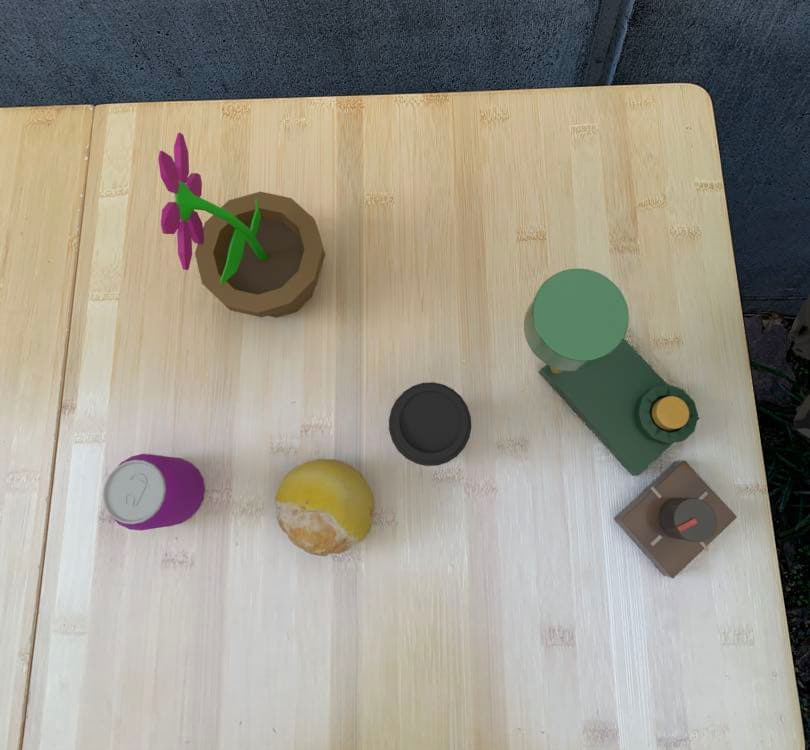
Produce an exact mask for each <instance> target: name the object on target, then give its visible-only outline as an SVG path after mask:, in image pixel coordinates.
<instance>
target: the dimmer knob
mask: <svg viewBox="0 0 810 750" xmlns="http://www.w3.org/2000/svg"><path fill="white" fill-rule="evenodd" d="M659 518H660V523H661V526H662V528H663V529H664V531H665V532H666V533H667V534H668V535H670V536H671V537H673V538H676V539H680V540H686V541H691V542H703V541H706V540H708V539H709V538H710V537H711V536H712V535H713V534H714V532H715V530H716V525H717V520H716V515H715V513H714V511H713V509H712V508H711V507H710V505H708V504H707V503H706V502H704V501H703V500H700V499H696V498H672V499H670V500H668V501H666V502H665V503H664V504H663V506H662V508H661V510H660V514H659Z"/></svg>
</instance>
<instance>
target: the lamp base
mask: <svg viewBox="0 0 810 750" xmlns="http://www.w3.org/2000/svg"><path fill="white" fill-rule="evenodd" d="M631 345H632V344H630V343H629V342H628V341H627V340H626V339H625V337H624V338H623V340H622V342H621V343H620V344H619V346H618V347H617V348H616V349H615V350H613V351H612V352H611V353H610V354H608V355H607V356H605V357H604V358H602V359H601V360H600V361H598V362H597V363H595V364H594V365H592V366H590V367H588V368H586V369H582V370H578V371H563V372H561V373H560V374H554V373H553V372H552V371H551V370H550V366H549V365H547V364H545V365H544V366H543V367H542V368H541V369H540V370H539V371H538V373H539V375H540V376H541V377H542V378H543V379H544V380H545V381H546V382H547V383H548V384H549V386H551V388H553V389H554V391H555V392H556V393H557V395H559V396H560V397H561V399H562V400H563V401H564V402H565V403H566V404H567V405H568V407H569V408H570V409H571V410H572V411H573V412H574V413H575V414H576V416H577V417H579V419H580V420H581V421H582V422H583V423H584V424H585V425H586V426H587V428H588V429H589V430H590V431H591V432H592V434H594V436H595V437H597V439H598V440H599V441H600V442H601V443H602V444H603V445H604V446H605V447H606V449H607V450H608V451H609V452H610V453H611V454H612V455H613V457H615V459H616V460H617V461H618V462H619V463H620V464H621V465H622V466H623V467H624V469H625V470H626V471H628V474H630V475H631V476H632V477H634V476H635V477H637V476H639V475H641V473H643V472H644V471H645V470H646V469H647V468H648V467H649V466H650V465H651V464H652V463H653V462H655V461H656V460H657V459H658V458H659V457H660V456H661V455H662V454H663V453H664V452H665V451H667V450H668V449H669V448H670V447H671V446H672V445H673V444H674V443H676V444H677V443H680V442H681V443H682V442H684V441H686V440H687V439H688V438H689V437H690V436H691V435H693V433H695V431H696V427H697V424H698V421H699V420H700V417H699V414H698V410H697V406H696V403H695V400H694V399H693V398H692V397H691V396H690V395H689V394H688V392H687V391H685V390H684V389H683V388H681V387H677V386H674V385H672V384H669V383H667V382H666V380H664V379H663V378H662V377H661V376H660V375H659V374H658V372H656V371H655V370H654V369H653V368H652V366H651V365H650V364H649V363H648V362H647V361H646V360H645V359H644V358H643V357H642V356H641V355H640V354H639V353H638V351H636V349H635V348H634V347H633V346H631ZM668 396H674V397H678V398H680V399H681V400H683V401H684V402H685V403H686V405H687V407H688V409H689V419H688V421H687V423H686V424H685V425H684V426H682V427H680V428H677V429H673V430H665V429H662V428H660V427H659V426H658V425H657V424H656V423H655V422H654V420H653V418H652V408H653V405H654V404H655V403H656V402H657V401H658V400H660V399H662V398H665V397H668Z"/></svg>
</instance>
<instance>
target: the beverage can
mask: <svg viewBox="0 0 810 750" xmlns="http://www.w3.org/2000/svg"><path fill="white" fill-rule="evenodd" d="M205 490H206V487H205V480H204V477H203V475H202V473H201V472H200V470H199V468H198V467H196V466H195V465H194V464H193V462H190V461H188V460H186V459H184V458H182V457H174V456H167V455H159V454H151V453H140V454H136V455H132V456H130V457H128V458H126V459H125V460H123V461H121V462H120V463H119V464H118V465H117V466H116V467H115V468H114V469H113V470H112V471H111V472H110V473H109V474H108V476H107V478H106V480H105V481H104V484H103V490H102V501H103V505H104V507H105V509H106V512H107V514H109V516H110V517H111V518H112V519H113V520H114V521H115V522H116V523H117V524H118V526H119V525H120V526H122V527H124V528H126V529H127V530H133V531H146V530H147V531H148V530H154V529H160V528H167V527H172V526H176V525H181V524H182V523H184V522H187V521H188V520H189V519H191V518H192V517H193V516H194V515H195V514H196V513H197V512H198V511H199V510H200V507H201V505H202V503H203V502H204V497H205Z"/></svg>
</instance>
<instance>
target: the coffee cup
mask: <svg viewBox="0 0 810 750" xmlns="http://www.w3.org/2000/svg"><path fill="white" fill-rule="evenodd" d="M388 432H389V435H390V439H391V442H392V443H393V445H394V446H395V449H396V450H397V451H398V452H399V453H400V454H401V456H403V457H404V458H405V459H407V460H408V461H410V462H412V463H413V464H416V465H421V466H425V467H435V466H441V465H444V464H447V463H450V462H451V461H453V460H454V459H456V458H457V457H459V455H460V454H461V453H462V452H463V451H464V449H465V448H466V446H467V444H468V442H469V440H470V437H471V433H472V416H471V412H470V410H469V407H468V405H467V403H466V401H465V400H464V399H463V397H462V396H461V395H460V394H459V393H458V392H457V391H456V390H455V389H454V388H451V387H449V386H447V384H446V385H445V384H443V383H440V382H439V383H438V382H434V381H433V382H428V381H427V382H421V383H418V384H415V385H412V386H410V387H409V388H406V390H404V391H403V392H402V393H401V394H400V395H399V396H398V397H397V398H396V399H395V402H394V403H393V405H392V406H391V409H390V413H389V417H388Z"/></svg>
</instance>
